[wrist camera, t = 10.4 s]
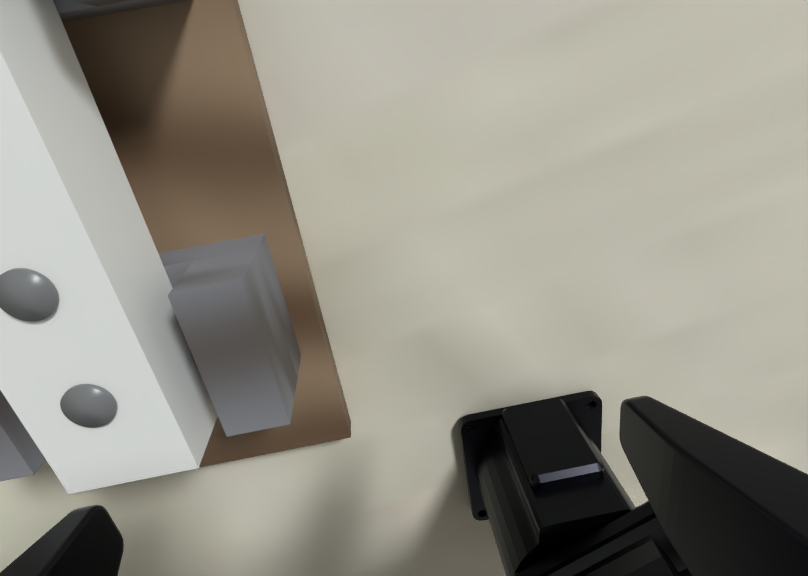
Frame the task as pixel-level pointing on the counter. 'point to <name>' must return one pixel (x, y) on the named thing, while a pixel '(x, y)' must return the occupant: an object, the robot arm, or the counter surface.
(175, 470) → the white bar
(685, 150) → the counter surface
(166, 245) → the cradle board
